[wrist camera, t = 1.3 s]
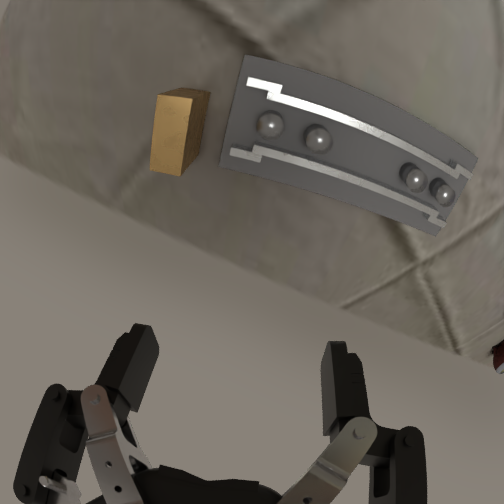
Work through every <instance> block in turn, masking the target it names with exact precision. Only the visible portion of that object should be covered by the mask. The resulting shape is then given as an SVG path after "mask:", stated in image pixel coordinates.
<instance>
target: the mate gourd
mask: <svg viewBox="0 0 504 504" xmlns="http://www.w3.org/2000/svg"><path fill="white" fill-rule="evenodd" d="M492 349H494V351H493V352H492V354H494V357H493V365H494V368H495V370H496V372H497V373H499V374H502V373H504V340H503V341H502V342H501V343H500V344H499V345H497V346H493V347H492Z"/></svg>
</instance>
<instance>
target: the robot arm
mask: <svg viewBox="0 0 504 504" xmlns="http://www.w3.org/2000/svg"><path fill="white" fill-rule="evenodd" d="M158 355H159V345H158V343H157V340H156V337H155V335H154V332H153V330H152V327H151V326H149V325H143V324H137V323H135V324H134V325H133V326H132V328H131V330H130V332H129V333H126V332H125V333H124V334H123V335H122V336H121V337H120V338H118V339H117V341H116V343H115V345H114V347H113V350H112V351H111V353H110V356H109V357H108V359H107V361H106V363H105V365H104V367H103V369H102V371H101V374H100V375H99V377H98V380H97V381H96V383H95V384H94V385H90V386H88V387H87V388H85V389H84V390H82V391H80V390H79V391H78V390H77V391H76V390H67V389H66V388H65V387H64V386H62V385H61V384H53V385H51V386H50V387H49V388H48V389H47V390H46V392H45V394H44V397H43V399H42V401H41V404H40V406H39V408H38V411H37V413H36V416H35V418H34V421H33V424H32V426H31V429H30V431H29V434H28V437H27V440H26V443H25V446H24V449H23V452H22V455H21V458H20V461H19V465H18V469H17V472H16V476H15V480H14V484H13V489H14V492H15V495H16V497H17V498H18V499H19V500H20V501H21V502H22V503H24V504H81V503H80V500H79V498H80V497H81V492H80V491H79V489H78V487H77V485H76V483H75V482H76V478H77V475H78V470H79V467H80V463H81V460H82V456H83V453H84V449H85V446H86V447H87V450H88V454H89V457H90V460H91V464H92V467H93V470H94V472H95V475H96V478H97V481H98V483H99V486H100V489H101V491H102V494H103V495H101V496H99V497H97V498H95V499H94V500H92V501H90V502H88V503H86V504H330V503H331V502H332V501H333V500H334V498H335V497H336V496H337V495H338V494H339V493H340V491H341V490H342V489H343V487H344V486H345V485H346V483H347V479H348V478H349V476H350V475H351V473H352V472H353V470H354V469H355V468H356V467H357V465H358V464H362V465H367V466H370V483H369V504H427V472H426V457H425V446H424V438H423V434H422V432H421V431H420V430H419V429H418V428H416V427H413V426H407V427H404V428H402V429H401V430H395V429H390V428H385V427H381V426H379V425H377V424H376V423H375V422H374V421H373V420H372V418H371V416H370V413H369V406H368V399H367V392H366V385H365V379H364V375H363V367H362V362H361V361H360V359H359V358H358V356H357V355H356V353H348V352H347V346H346V342H344V341H328V343H327V346H326V349H325V352H324V355H323V358H322V362H321V387H322V410H323V436H330V444H329V445H328V446H327V448H326V449H325V450H324V451H323V453H322V454H321V455H320V456H319V457H318V458H317V460H316V461H315V462H314V463H313V464H312V465H311V466H310V468H309V469H308V470H307V471H306V472H305V473H304V474H303V475H302V476H301V477H300V478H299V479H298V480H297V481H296V482H295V483H294V484H293V485H292V486H291V487H290V488H289V489H288V490H287V491H286V492H285V493H284V494H283V495H282V496H281V495H280V494H279V493H278V492H276V491H275V490H273V489H271V488H269V487H266V486H264V485H260V484H259V482H258V481H247V480H238V479H228V480H215V481H206V480H203V479H201V478H199V477H196V476H194V475H192V474H189V473H187V472H185V471H183V470H179V469H175V468H171V467H167V466H163V465H160V467H159V468H152V466H151V464H150V462H149V460H148V458H147V457H146V455H145V454H144V453H143V451H142V450H141V448H140V446H139V443H138V441H137V438H136V436H135V433H134V431H133V428H132V425H131V423H130V420H129V417H128V414H129V411H130V410H131V411H134V412H138V409H139V407H140V404H141V401H142V398H143V396H144V393H145V390H146V387H147V385H148V382H149V379H150V377H151V374H152V371H153V369H154V366H155V363H156V361H157V358H158ZM88 436H89V439H88Z"/></svg>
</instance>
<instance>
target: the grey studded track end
mask: <svg viewBox="0 0 504 504" xmlns="http://www.w3.org/2000/svg"><path fill="white" fill-rule="evenodd" d="M379 129H380V128H379ZM381 130H382V133H381V135H380V138H381V139H383V140H385V141H387V142H389V143H391V144H394V145H396V146H398V147H400V148H402V149H404V150H406V151H408V152H410V153H412V154H414V155H416V156H418V157H419V158H421V159H423V160H425V161H427V162H429V163H431V164H432V165H434V166H436V167H438V168H439V169H441V170H443V171H444V172H446V173H448V174H450V175H451V176H453V177H454V178H456V179H458V177H459V175H460V174H462V175H463V176H465V177H467V178H468V179H469V180H471V178H472V176H473V174H472V173H471V172H470V171H468V170H467V169H466V168H464V167H463V166H461V165H460V164H458V163H457V162H455V161H454V160H452V159H451V160H450V162H449V164H446V163H445V162H443V161H441V160H440V159H438V158H436V157H435V156H433V155H431V154H429V153H428V152H426V151H424V150H422V149H420V148H419V147H417V146H415V145H413V144H411V143H409V142H407V141H405V140H403V139H401V138H399V137H397V136H395V135H393V134H391V133H389V132H387V131H385V130H383V129H381ZM359 175H360V176H361V178H362V180H361V182H360V184H359V186H362V187H364V188H367V189H370V190H372V191H375V192H377V193H380V194H382V195H385V196H387V197H390V198H392V199H395V200H397V201H400V202H402V203H404V204H407V205H409V206H411V207H414V208H416V209H418V210H420V211H423V215H424V217H425V218H426V220H427V221H429V222H431V223H434V224H436V225H438V226H440V227H442V228H444V227H445V225H446V223H447V222H446V221H445V220H444V219H443V217H442V216H440V215H438V214H439V211H438V210H437V209H436V207H435V206H434V205H431V204H429V203H427V202H425V201H423V200H421V199H419V198H417V197H415V196H412V195H410V194H408V193H406V192H403V191H401V190H399V189H397V188H394V187H392V186H390V185H387V184H385V183H382V182H380V181H377V180H375V179H372V178H370V177H367V176H365V175H362V174H360V173H359ZM399 176H400V178H401V180H402V181H403V182H404V183H405V184H406V185H407V187H408V188H409V189H410V190H411V191H412V192H414V193H420V192H422V191H424V190H425V189H426V187H427V185H428V178H427V176H426V174H425V173H424V172H423V171H422V170H420V169H419V168H418V167H417V166H416V165H415V164H414V163H411V162H408V163H405V164H403V165H402V166H401V168H400V171H399ZM429 192H430V194H431V195H432V196H433V197H434V198H435V199H436V200H437V202H438V203H439V204H440V205H441V206H442V207H449V206H450V205H452V204H453V202H454V200H455V197H456V194H455V191H454V190H453V189H452V188H451V187H450V186H449V185H448V184H447V183H446V182H445V181H444V180H443V179H442V178H435V179H433V180H432V181H431V182H430V185H429Z"/></svg>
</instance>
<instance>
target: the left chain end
mask: <svg viewBox="0 0 504 504" xmlns="http://www.w3.org/2000/svg"><path fill="white" fill-rule="evenodd" d="M246 85H247V86H251V87H256V88H260V89H264V90H268V95H267V98H266V99H269V100H273V101H277V102H280V103H284V104H287V105H291V106H294V107H298V108H301V109H304V110H307V111H310V112H313V113H316V114H319V115H322V116H325V117H328V118H331V119H334V120H336V121H339V122H342V123H344V124H347V125H350V126H352V127H355V128H357V129H360V130H362V131H364V132H367V133H369V134H372V135H374V136H376V137H378V138H380V135H381V133H382V130H381V129H379V128H378V127H376V126H374V125H371V124H369V123H367V122H364V121H362V120H360V119H357V118H355V117H352V116H350V115H347V114H345V113H342V112H339V111H337V110H334V109H331V108H328V107H326V106H323V105H320V104H317V103H314V102H311V101H308V100H305V99H301V98H298V97H295V96H291V95H288V94H284V93H281V88H282V84H278V83H274V82H270V81H266V80H262V79H258V78H253V77H248V81H247V84H246ZM256 128H257V132H258V134H259V135H260V136H261V137H262V138H264V139H266V140H275V139H278V138H279V137H280V136H281V135H282V134H283V132H284V119H283V116H282V115H281V114H280V113H279V112H277V111H275V110H267V111H265V112H263V113H262V114H261V115H260V117H259V120H258V122H257V126H256ZM304 138H305V141H306V144H307V147H308V149H309V150H310V151H311V152H312V153H314V154H317V155H323V154H326V153H328V152H329V151H330V150H331V149H332V146H333V138H332V136H331V135H330V133H329V132H328V130H327V129H326V128H325V127H324V126H323V125H321V124H311V125H309V126H308V127H307V128H306V130H305V132H304ZM230 155H231V156H235V157H240V158H244V159H248V160H252V161H256V162H259V163H260V161H261V158H262V155H264V156H267V157H271V158H275V159H278V160H282V161H285V162H289V163H292V164H296V165H299V166H302V167H306V168H309V169H312V170H315V171H318V172H321V173H324V174H327V175H330V176H333V177H336V178H339V179H342V180H345V181H348V182H351V183H353V184H356V185H359V184H360V182H361V180H362V178H361V176H360V175H359V173H357V172H354V171H352V170H349V169H346V168H343V167H340V166H338V165H335V164H332V163H329V162H326V161H323V160H320V159H317V158H314V157H311V156H308V155H304V154H301V153H298V152H295V151H291V150H288V149H284V148H281V147H277V146H274V145H270V144H266V143H262V142H258V141H255V143H254V146H253V148H251V147H247V146H243V145H239V144H235V143H233V145H232V147H231V150H230Z"/></svg>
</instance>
